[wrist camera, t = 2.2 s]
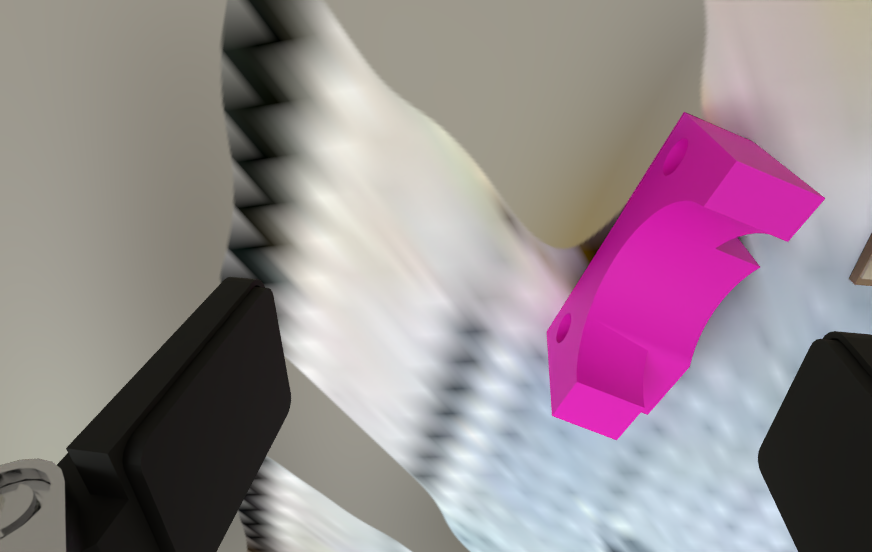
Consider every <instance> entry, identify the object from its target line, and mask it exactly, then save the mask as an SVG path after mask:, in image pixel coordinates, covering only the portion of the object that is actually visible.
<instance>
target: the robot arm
mask: <svg viewBox="0 0 872 552" xmlns="http://www.w3.org/2000/svg"><path fill="white" fill-rule="evenodd" d="M290 403H291V392H290V387H289V382H288V376H287V370H286V365H285V359H284V353H283V347H282V342H281V336H280V330H279V325H278V319H277V313H276V308H275V302H274V296H273V293H272V291H271V289H269V288H265V287H264V284H263V283H262V281H260V280H259V279H248V278H237V277H228V278H226V279H225V280H224V281H223V282H222V283H221V284H220V285H219V286H218V287H217V288H216V289H215V290H214V291H213V292H212V293H211V294H210V296H209V297H208V298H207V299H206V300H205V301H204V302H203V303H202V304H201V305H200V306H199V307H198V308H197V309H196V310H195V312H194V313H193V314H192V315H191V316H190V317H189V318H188V319H187V320H186V321H185V322H184V324H182V325H181V327H180V328H179V329H178V330H177V331H176V332H175V333H174V334H173V335H172V336H171V337H170V338H169V339H168V340H167V341H166V343H164V345H163V346H162V347H161V348H160V349H159V350H158V351H157V352H156V353H155V354H154V355H153V356H152V357H151V359H149V361H148V362H147V363H146V364H145V365H144V366H143V367H142V368H141V369H140V370H139V371H138V372H137V373H136V374H135V375H134V377H133V378H132V379H131V380H130V381H129V382H128V383H127V384H126V385H125V386H124V387H123V388H122V389H121V391H120V392H119V393H118V394H117V395H116V396H115V397H114V398H113V399H112V400H111V401H110V402H109V403H108V404H107V405H106V407H104V409H103V410H102V411H101V412H100V413H99V414H98V415H97V416H96V417H95V418H94V419H93V420H92V421H91V422H90V423H89V424H88V426H87V427H86V428H85V429H84V430H83V431H82V432H81V433H80V434H79V435H78V436H77V437H76V438H75V439H74V440H73V442H72V443H71V444H70V445H69V446H68V447H67V448H66V449H67V451H68V453H67V455H66V456H65V457H64V458H63V459H62V460H61V461H60V462H59V463H58V464H57V465H55V464H54V463H53V462H51V461H47V460H42V459H25V460H18V461H14V462H10V463H6V464H3V465H0V552H217V550H218V547H219V546H220V544H221V542H222V540H223V538H224V536H225V534H226V532H227V530H228V528H229V526H230V524H231V523H232V521H233V519H234V517H235V515H236V513H237V511H238V509H239V507H240V505H241V503H242V501H243V499H244V497H245V496H246V494H247V492H248V490H249V488H250V486H251V484H252V482H253V480H254V478H255V476H256V474H257V472H258V470H259V469H260V467H261V465H262V463H263V461H264V459H265V457H266V455H267V453H268V451H269V449H270V447H271V445H272V443H273V442H274V440H275V438H276V436H277V434H278V432H279V430H280V428H281V426H282V424H283V422H284V420H285V418H286V416H287V414H288V412H289V408H290ZM758 464H759V468H760V471H761V474H762V476H763V478H764V480H765V482H766V484H767V486H768V488H769V491H770V493H771V495H772V497H773V499H774V501H775V503H776V505H777V508H778V510H779V512H780V514H781V516H782V518H783V520H784V522H785V524H786V527H787V529H788V531H789V533H790V535H791V537H792V539H793V541H794V544H795V546H796V548H797V550H798V552H872V335H870V334H858V333H847V332H836V331H834V332H829V333H828V334H827V335H825V336H824V338H823V339H817V340H816V341H814V342H813V343H812V345H811V346H810V348H809V350H808V352H807V354H806V356H805V358H804V360H803V362H802V364H801V366H800V368H799V370H798V372H797V374H796V376H795V378H794V380H793V383H792V385H791V387H790V389H789V391H788V393H787V395H786V397H785V399H784V401H783V403H782V405H781V407H780V409H779V411H778V413H777V415H776V417H775V419H774V421H773V423H772V425H771V427H770V429H769V431H768V433H767V435H766V437H765V439H764V441H763V443H762V445H761V447H760V449H759V453H758Z"/></svg>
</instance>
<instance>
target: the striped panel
mask: <svg viewBox="0 0 872 552" xmlns="http://www.w3.org/2000/svg"><path fill="white" fill-rule="evenodd" d="M849 279H850V280H851V281H852V282H853V283H854V284H855V285H866V286H872V234H871V236H870V238H869V240H868V242H867V244H866V246H865V248H864V250H863V252H862V254H861V256H860V258H859V260H858V262H857V264H856V266H855V268H854V270H853V272H852V274H851V276H850V278H849Z"/></svg>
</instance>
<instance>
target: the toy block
mask: <svg viewBox="0 0 872 552" xmlns="http://www.w3.org/2000/svg"><path fill="white" fill-rule="evenodd" d="M824 199H825V198H824V197H823V196H822V195H820V194H819V193H818V192H817V191H815V190H814V189H813V188H811V187H810V186H809V185H808V184H806V183H805V182H804V181H803V180H801V179H800V178H799V177H797V176H796V175H795V174H794V173H792V172H791V171H790V170H788V169H787V168H786V167H785V166H783V165H782V164H781V163H780V162H778V161H777V160H776V159H774V158H773V157H772V156H771V155H769V154H768V153H767V152H766V151H764V150H763V149H762V148H760V147H759V146H758V145H757V144H755V143H754V142H753V141H750V140H748V139H746V138H743V137H741V136H739V135H736V134H734V133H732V132H729V131H727V130H725V129H722V128H720V127H718V126H715V125H713V124H711V123H708V122H706V121H704V120H703V119H700V118H698V117H696V116H693V115H691V114H689V113H686V112H683V114H682V116H681V117H680V119H679V120H678V122H677V124H676V125H675V127H674V128H673V130H672V131H671V133H670V135H669V136H668V138H667V139H666V141H665V143H664V144H663V146H662V147H661V149H660V151H659V152H658V154H657V155H656V157H655V158H654V160H653V162H652V163H651V165H650V166H649V168H648V170H647V171H646V173H645V174H644V176H643V178H642V179H641V181H640V182H639V184H638V185H637V187H636V189H635V190H634V192H633V194H632V195H631V197H630V198H629V200H628V201H627V203H626V205H625V206H626V207H625V206H624V207H625V209H624V210H623V212H622V213H621V215H620V216H619V218H618V220H617V221H616V223H615V224H614V226H613V228H612V229H611V231H610V232H609V234H608V235H607V237H606V239H605V240H604V242H603V243H602V245H601V247H600V248H599V250H598V251H597V253H596V254H595V256H594V258H593V259H592V261H591V262H590V264H589V266H588V267H587V269H586V270H585V272H584V273H583V275H582V277H581V278H580V280H579V281H578V283H577V285H576V286H575V288H574V289H573V291H572V292H571V294H570V296H569V297H568V299H567V300H566V302H565V304H564V305H563V307H562V308H561V310H560V312H559V313H558V315H557V316H556V318H555V319H554V321H553V323H552V324H551V326H550V327H549V329H548V331H547V345H548V360H549V376H550V392H551V407H552V416H554V417H556V418H559V419H562V420H564V421H567V422H570V423H572V424H575V425H578V426H580V427H583V428H586V429H588V430H591V431H593V432H596V433H599V434H601V435H604V436H607V437H609V438H612V439H615V440H617V439H618V438H619V437H620V436H621V435H622V433H623V432H624V431H625V430H626V429H627V428H628V427H629V425H630V424H631V423H632V422H633V421H634V420H635V418H636V417H637V416H638V415H639V414H640V413H641V412H642V413H644V414H647V415H648V414H649V413H650V411H651V410H652V409H653V408H654V407H655V406H656V405H657V404H658V402H659V401H660V400H661V399H662V398H663V397H664V396H665V394H666V393H667V392H668V391H669V390H670V389H671V388H672V386H673V385H674V384H675V383H676V382H677V381H678V380H679V378H680V377H681V376H682V375H683V374H684V373H685V372H686V370H687V369H688V368H689V367H690V363H691V360H692V356H693V353H694V350H695V347H696V345H697V342H698V340H699V337H700V335H701V333H702V331H703V329H704V327H705V325H706V324H707V322H708V320H709V318H710V317H711V315H712V314H713V312H714V311H715V309H716V308H717V306H718V305H719V304H720V302H721V301H722V300H723V299H724V298H725V296H726V295H727V294H728V293H729V292H730V291H731V290H732V289H733V288H734V287H735V286H736V285H737V284H738V283H739V282H740V281H742V280H743V279H744V278H745V277H747V276H748V275H749V274H751V273H752V272H754V271H755V270H757V269H758V268H760V266H759V265H758V263H757V262H756V261H755V260H754V258H753V257H752V256H751V254H750V253H749V252H748V251H747V249H746V248H745V247H744V245H743V244H742V243H741V242H740V240H739V239H738V238H737V237H739V236H743V235H746V234H753V233H766V234H770V235H773V236H775V237H777V238H780V239H782V240H785V241H787V242H788V241H789V240H790V239H791V238H792V236H793V235H794V234H795V233H796V232H797V231H798V230H799V228H800V227H801V226H802V225H803V224H804V223H805V221H806V220H807V219H808V218H809V217H810V216H811V214H812V213H813V212H814V211H815V210H816V209H817V208H818V206H819V205H820V204H821V203H822V202H823V201H824Z"/></svg>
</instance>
